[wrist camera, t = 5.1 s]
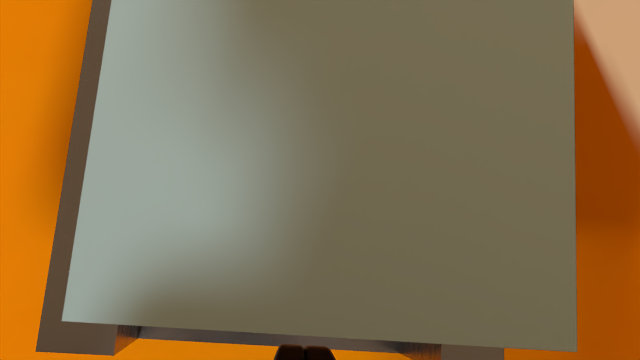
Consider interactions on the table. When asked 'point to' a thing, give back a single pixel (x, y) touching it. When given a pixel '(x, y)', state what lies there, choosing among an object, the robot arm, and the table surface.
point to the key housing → (117, 337)
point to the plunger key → (334, 171)
